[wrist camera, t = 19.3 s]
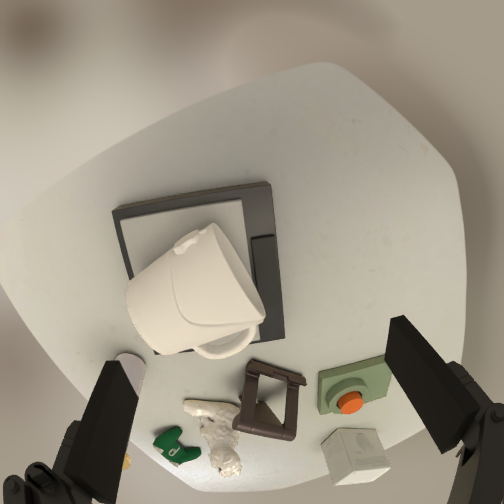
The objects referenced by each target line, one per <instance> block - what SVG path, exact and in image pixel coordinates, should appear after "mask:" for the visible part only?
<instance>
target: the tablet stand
mask: <svg viewBox="0 0 504 504" xmlns="http://www.w3.org/2000/svg"><path fill="white" fill-rule="evenodd" d="M260 374H262V375H265V376H268V377H271V378H275V379H278V380H281V381H285V382H287V393H286V408H285V421H284V423H283V424H281V422H280V421H279V420H278V418H277V417H276V416H275V414H274V413H273V412H272V410H271V409H270V408H269V406H268V405H267V404H266V403H265V402H261V401H258V403H256V397H257V389H258V380H259V377H260ZM300 385H302V386H306V385H307V384H306V379H305V377H303V376H299V375H296V374H293V373H290V372H286V371H283V370H280V369H277V368H274V367H271V366H268V365H265V364H262V363H259V362H256V361H253V360H251V361H249V363H248V365H247V367H246V374H245V381H244V388H243V395H242V396H239V397H238V398H239V399H240V401H241V409H240V412H239V414H237V415H236V416H235V417H234V419H233V422H232V429H233V430H236V431H241V432H245V433H249V434H254V435H259V436H264V437H269V438H274V439H280V440H286V441H293V440H294V439H295V437H296V430H297V414H298V393H299V386H300Z"/></svg>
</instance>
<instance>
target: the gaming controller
mask: <svg viewBox="0 0 504 504" xmlns="http://www.w3.org/2000/svg"><path fill="white" fill-rule="evenodd" d="M181 434H182V430H181V429H180V428H179V427H176V428H173V429H170V430H168V431H166V432H164V433H163V434H161V435H159V436H158V437H157V438H156V439H155V441H154V443H153V447H154V448H155V450H157V451H158V452H159V453H160V454H161V455H163V456H164V457H165V458H166V459H168V460H169V462H170V463H171V464H173V465H174V466H176V467H178V465H180V464H182V463H184V462H187V461H191V460H194V459H196V458H198V457H199V456H200V455H201V450H200V449H199V448H189V449H183V447H182V446H180V445H179V444H178V443H177V442H176V440H177V439H178V438H179V436H180V435H181Z"/></svg>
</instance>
